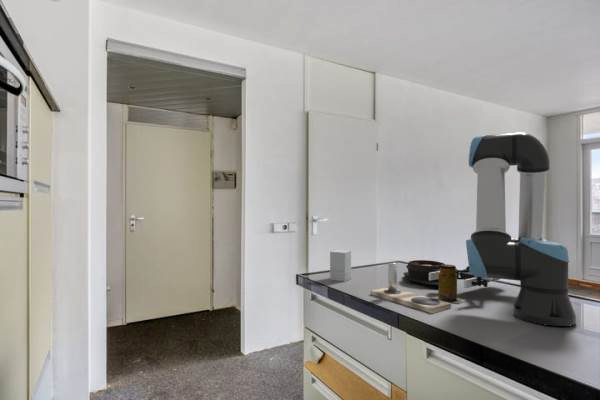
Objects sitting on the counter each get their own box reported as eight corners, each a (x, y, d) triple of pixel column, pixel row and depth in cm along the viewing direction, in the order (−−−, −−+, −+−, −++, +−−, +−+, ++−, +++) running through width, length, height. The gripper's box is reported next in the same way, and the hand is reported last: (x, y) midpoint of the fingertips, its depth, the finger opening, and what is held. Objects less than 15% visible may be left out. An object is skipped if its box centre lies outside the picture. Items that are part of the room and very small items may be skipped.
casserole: (393, 276, 158) (393, 258, 158) (430, 275, 161) (430, 257, 162) (421, 290, 134) (421, 269, 134) (464, 288, 137) (464, 267, 137)
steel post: (398, 296, 125) (398, 263, 125) (392, 297, 123) (392, 264, 123) (391, 294, 127) (392, 262, 127) (386, 295, 125) (386, 263, 125)
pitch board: (450, 307, 111) (450, 302, 111) (432, 313, 106) (432, 308, 106) (388, 290, 133) (388, 286, 133) (370, 294, 127) (370, 289, 127)
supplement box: (351, 278, 153) (351, 250, 153) (344, 282, 147) (344, 252, 147) (336, 276, 157) (337, 249, 157) (329, 279, 151) (329, 251, 151)
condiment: (443, 295, 127) (443, 262, 127) (466, 300, 120) (466, 266, 120) (433, 298, 122) (433, 265, 122) (456, 304, 116) (456, 268, 116)
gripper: (513, 290, 122) (481, 299, 110) (449, 277, 143) (416, 283, 131) (513, 269, 122) (481, 276, 110) (449, 259, 143) (416, 264, 131)
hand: (446, 280), depth 120 cm, fingers open, 13 cm apart
